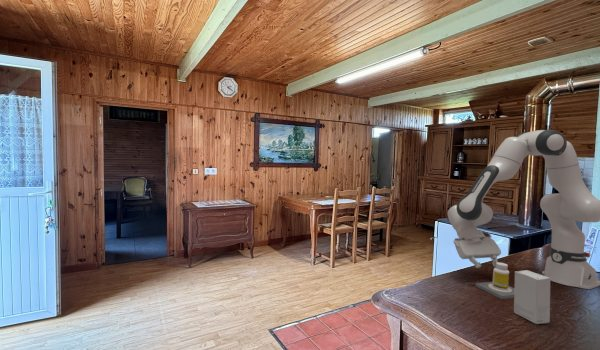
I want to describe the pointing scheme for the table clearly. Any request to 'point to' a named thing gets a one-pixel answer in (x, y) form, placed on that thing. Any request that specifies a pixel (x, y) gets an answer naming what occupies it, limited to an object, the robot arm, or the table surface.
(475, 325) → the table surface
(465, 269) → the table surface
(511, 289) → the board
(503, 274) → the supplement bottle
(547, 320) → the skincare box
